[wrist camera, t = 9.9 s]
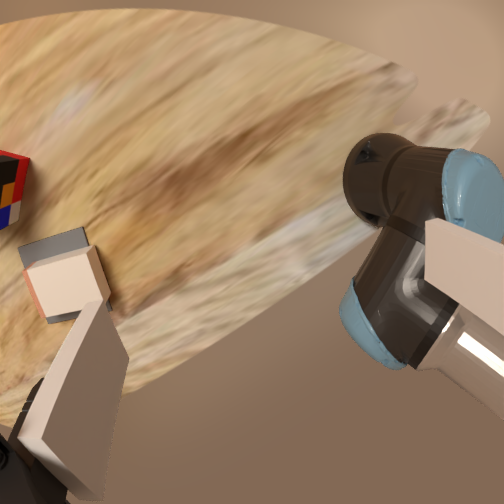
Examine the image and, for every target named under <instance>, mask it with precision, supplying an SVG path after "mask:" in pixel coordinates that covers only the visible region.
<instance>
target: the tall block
mask: <svg viewBox="0 0 504 504" xmlns="http://www.w3.org/2000/svg"><path fill="white" fill-rule="evenodd" d="M22 273H23V276H24V278H25V281H26V283H27V286H28V288H29V291H30V293H31V295H32V298H33V300H34V302H35V305H36V307H37V309H38V311H39V314H40V316H41V318H45V317H50V316H55V315H59V314H64V313H69V312H74V311H78V310H82V309H83V308H84V306H85V304H86V303H89V302H93V301H98V300H102V299H104V302H105V304H106V302H107V300H108V298H109V296H110V294H111V291H110V289H109V286H108V283H107V280H106V278H105V275H104V272H103V269H102V266H101V263H100V261H99V258H98V255H97V252H96V248H95V245H91V246H88V247H84V248H81V249H77V250H73V251H70V252H66V253H63V254H60V255H56V256H53V257H49V258H46V259H43V260H39V261H36V262H33V263H31V264H30V265H29V266H28V267H27V268H26V269H24V270H23V271H22Z"/></svg>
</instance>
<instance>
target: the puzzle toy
mask: <svg viewBox="0 0 504 504" xmlns="http://www.w3.org/2000/svg"><path fill="white" fill-rule="evenodd" d="M29 159H30V158H28V157H24V156H20V155H17V154H13V153H9V152H6V151H2V150H0V230H1V229H3V228H5V227H7V226H9V225H11V224H12V223H14V222H16V221H18V220H19V213H20V206H21V200H22V194H23V188H24V183H25V178H26V173H27V168H28V164H29Z"/></svg>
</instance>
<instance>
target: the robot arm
mask: <svg viewBox="0 0 504 504" xmlns="http://www.w3.org/2000/svg"><path fill="white" fill-rule="evenodd" d="M343 188H344V193H345V196H346V199H347V202H348V204H349V205H350V207H351V209H352V210H353V211H354V213H355V214H356V215H357V216H359V217H360V218H361V219H363V220H364V221H366V222H368V223H370V224H373V225H375V226H379V227H383V229H382V231H381V233H380V235H379V236H378V238H377V240H376V242H375V244H374V245H373V247H372V249H371V251H370V253H369V254H368V256H367V258H366V259H365V261H364V262H363V264H362V266H361V267H360V269H359V271H358V272H357V274H356V275H355V276H354V277H353V278H352V280H351V283H350V286H349V288H348V290H347V292H346V294H345V295H344V297H343V299H342V301H341V303H340V306H339V314H340V317H341V321H342V323H343V326H344V327H345V329H346V330H347V332H348V333H349V335H350V336H351V337H352V339H353V340H354V341H355V342H356V343H357V344H358V345H359V346H360V347H361V348H362V349H363V350H364V351H365V352H366V353H367V354H368V355H369V356H370V357H372V358H373V359H374V360H376V361H377V362H381V363H382V364H383V365H384V366H385V367H387V368H389V369H392V370H400V369H402V368H404V367H406V366H407V364H409V365H410V366H412V367H413V368H414V369H416V370H417V371H423V370H428V369H437V370H439V371H440V372H441V373H443V374H444V375H445V376H446V377H448V378H449V379H450V380H452V381H453V382H454V383H456V384H457V385H458V386H460V387H461V388H462V389H463V390H465V391H466V392H467V393H469V394H470V395H471V396H472V397H474V398H475V399H477V400H478V401H479V402H480V403H481V404H483V405H484V406H485V407H487V408H488V409H489V410H490V411H492V412H493V413H494V414H496V415H497V416H498V417H500V418H501V419H502V420H503V421H504V245H502V244H500V243H501V241H502V238H503V236H504V179H503V177H502V175H501V173H500V171H499V169H498V168H497V166H496V165H495V164H494V163H493V162H492V161H491V160H490V159H489V158H487V157H486V156H484V155H481V154H478V153H474V152H470V151H467V150H465V149H447V148H436V147H422V146H417V145H415V144H413V143H412V142H410V141H409V140H407V139H405V138H404V137H402V136H399V135H396V134H391V133H377V134H372V135H369V136H367V137H365V138H363V139H362V140H361V141H359V142H358V143H357V144H356V145H355V146H354V148H353V149H352V150H351V152H350V154H349V156H348V158H347V160H346V163H345V167H344V172H343ZM128 362H129V357H128V354H127V352H126V350H125V348H124V346H123V344H122V342H121V339H120V337H119V335H118V333H117V330H116V328H115V326H114V323H113V321H112V319H111V316H110V314H109V312H108V309H107V307H106V304H105V302H104V299H102V300H98V301H93V302H89V303H86V304H85V306H84V308H83V309H82V311H81V313H80V314H79V316H78V318H77V319H76V321H75V323H74V324H73V326H72V328H71V330H70V331H69V333H68V335H67V337H66V339H65V340H64V342H63V344H62V346H61V348H60V349H59V351H58V353H57V355H56V357H55V359H54V361H53V363H52V364H51V366H50V368H49V370H48V372H47V374H46V376H45V378H41V380H40V381H39V382H38V383H37V384H36V385H35V386H34V387H33V388H32V390H31V392H30V394H29V396H28V398H27V400H26V401H27V402H25V404H24V406H23V408H22V412H20V414H19V416H18V419H17V421H16V423H15V425H14V427H13V430H12V432H11V434H10V437H9V439H8V441H6V440H5V438H4V437H3V436H2V435H1V434H0V504H70V503H69V502H68V501H67V500H66V495H67V490H69V491H70V492H71V493H72V494H73V495H74V496H75V497H77V498H78V499H79V500H86V501H103V497H104V489H105V482H106V475H107V468H108V462H109V455H110V449H111V444H112V438H113V432H114V427H115V422H116V416H117V412H118V407H119V402H120V397H121V393H122V388H123V383H124V379H125V375H126V370H127V366H128Z"/></svg>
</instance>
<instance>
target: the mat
mask: <svg viewBox="0 0 504 504" xmlns="http://www.w3.org/2000/svg"><path fill="white" fill-rule="evenodd" d="M88 246H89V244H88V241H87V238H86V235H85V232H84V228H83V227H80V228H77V229H74V230H70V231H67V232H64V233H61V234H58V235H54V236H51V237H48V238H45V239H42V240H39V241H36V242H33V243H30V244H27V245H24V246H21V247H19V248H18V251H19V254H20V257H21V259H22V262H23V265H24V268H25V269H26V268H27V267H28V266H29V265H30V264H31V263H33V262H36V261H39V260H43V259H46V258H49V257H53V256H56V255H60V254H63V253H66V252H70V251H73V250H77V249H81V248H84V247H88ZM106 307H107V309H108V311H112V308H111V305H110V303H109V300H107V302H106ZM81 311H82V310H78V311H74V312H69V313H64V314H59V315H55V316H50V317H45V318H46V320H47V322H48V324H50V323H55V322H60V321H65V320H70V319H75V318H78V316H79V314H80V313H81Z"/></svg>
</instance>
